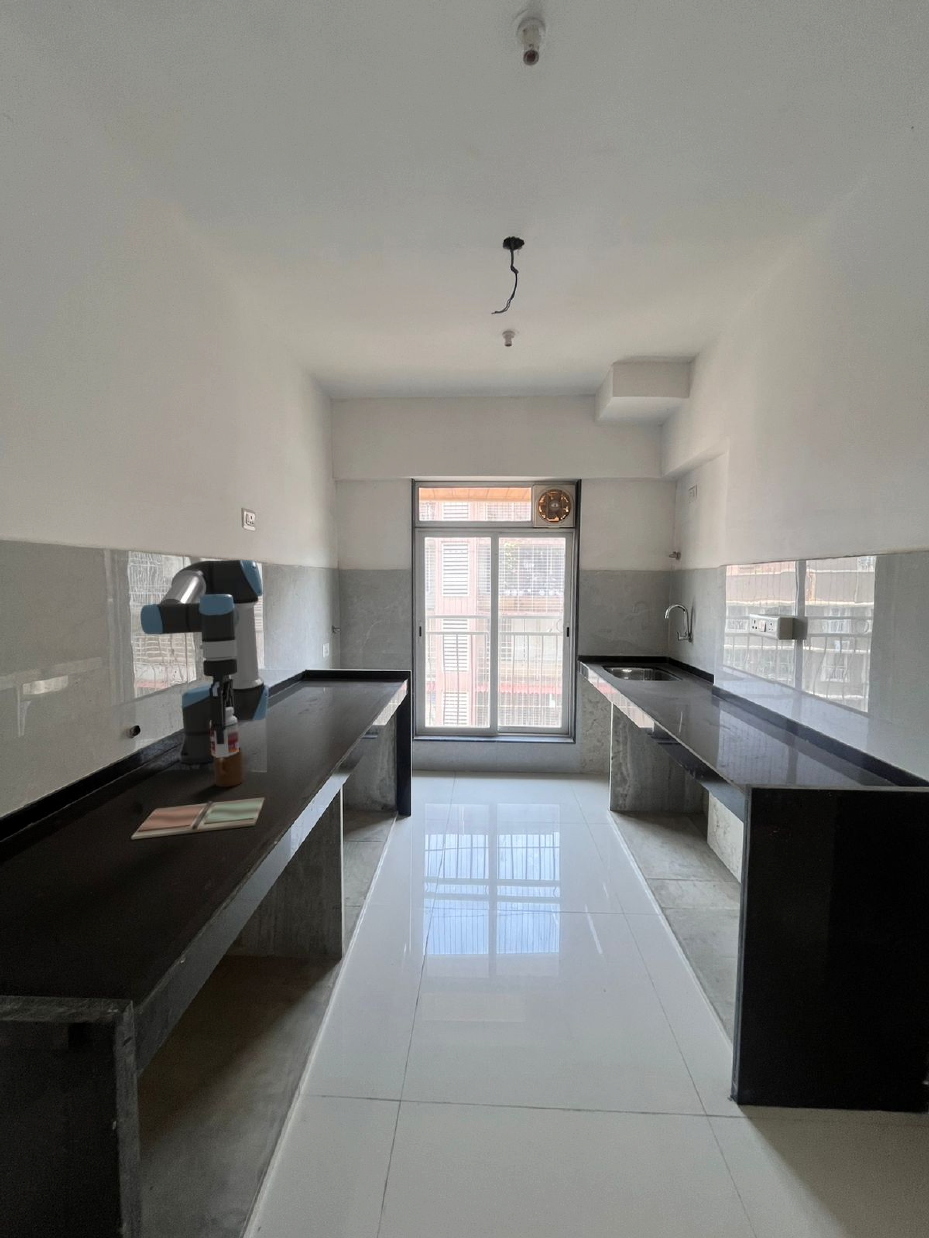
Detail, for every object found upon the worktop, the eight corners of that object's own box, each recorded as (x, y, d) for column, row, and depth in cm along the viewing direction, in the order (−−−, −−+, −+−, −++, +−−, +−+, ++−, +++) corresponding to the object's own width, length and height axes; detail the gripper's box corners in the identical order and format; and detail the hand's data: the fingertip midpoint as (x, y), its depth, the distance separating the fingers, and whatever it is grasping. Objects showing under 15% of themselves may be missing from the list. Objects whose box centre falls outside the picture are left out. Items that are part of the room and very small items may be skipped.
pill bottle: (206, 754, 135) (204, 709, 134) (231, 748, 139) (229, 705, 139) (218, 759, 131) (215, 712, 130) (243, 752, 135) (241, 707, 135)
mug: (233, 793, 150) (231, 758, 150) (204, 794, 150) (202, 760, 149) (247, 777, 162) (246, 746, 162) (221, 779, 162) (219, 747, 161)
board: (155, 811, 140) (155, 805, 140) (264, 799, 145) (264, 794, 145) (131, 839, 124) (131, 833, 124) (254, 825, 129) (254, 819, 129)
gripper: (213, 654, 142) (218, 743, 144) (191, 664, 124) (198, 766, 125) (244, 652, 144) (249, 740, 145) (227, 662, 125) (233, 763, 126)
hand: (225, 752), depth 135 cm, fingers closed on pill bottle, 6 cm apart
